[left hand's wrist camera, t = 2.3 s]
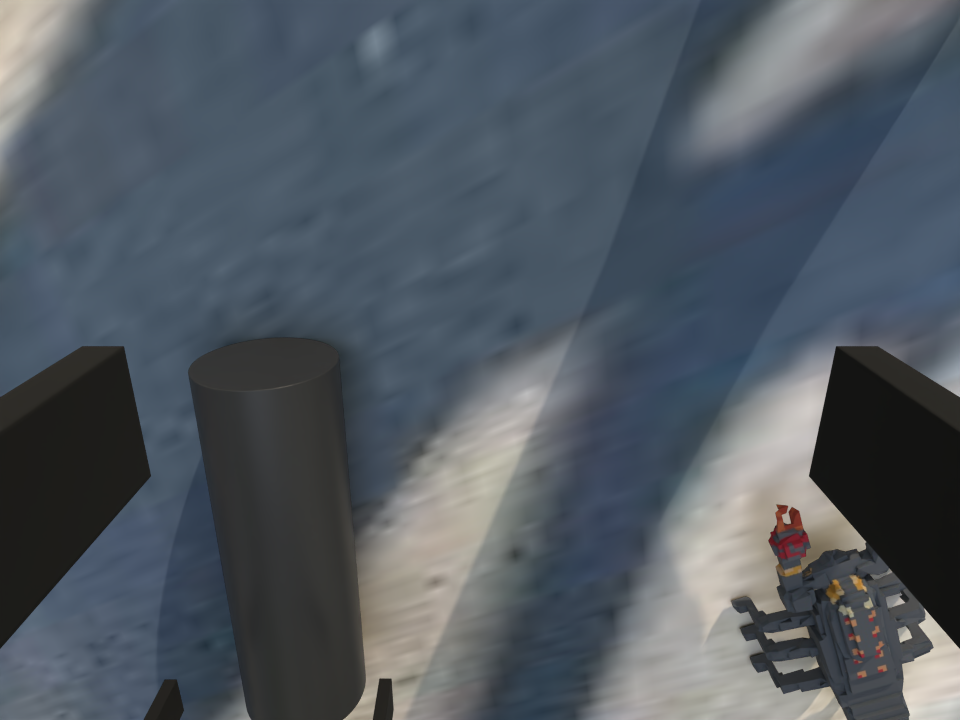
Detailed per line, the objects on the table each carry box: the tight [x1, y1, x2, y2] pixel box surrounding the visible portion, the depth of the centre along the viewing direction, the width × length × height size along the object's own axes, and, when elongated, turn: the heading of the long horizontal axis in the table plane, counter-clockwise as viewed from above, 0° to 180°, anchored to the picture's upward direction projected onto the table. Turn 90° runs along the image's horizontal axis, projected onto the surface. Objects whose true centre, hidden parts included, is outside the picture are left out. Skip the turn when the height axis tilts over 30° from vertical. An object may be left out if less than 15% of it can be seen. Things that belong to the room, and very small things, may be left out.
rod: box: [188, 338, 366, 720], centre depth 44 cm, size 26×9×9 cm, turn 0°
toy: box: [731, 505, 933, 720], centre depth 43 cm, size 13×27×18 cm, turn 22°
